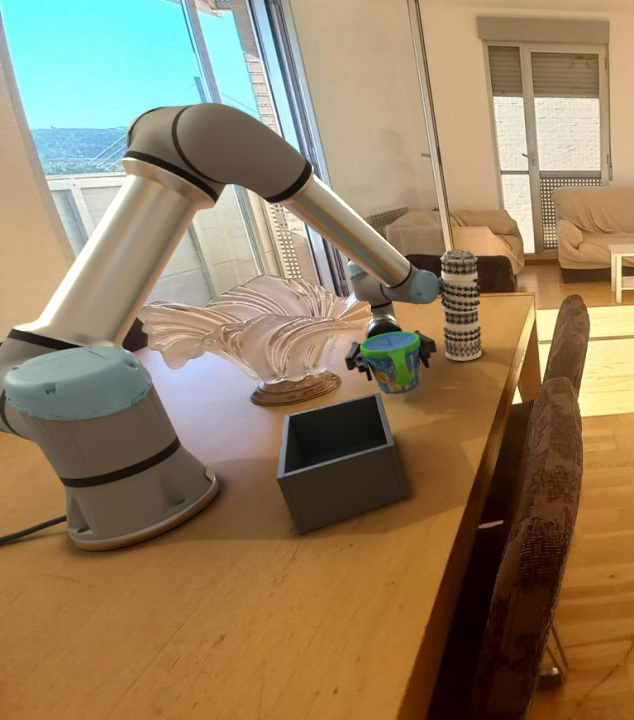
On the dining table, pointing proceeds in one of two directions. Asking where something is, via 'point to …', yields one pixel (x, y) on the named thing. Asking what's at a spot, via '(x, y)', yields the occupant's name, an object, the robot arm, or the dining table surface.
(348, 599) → the dining table surface
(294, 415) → the waste bin
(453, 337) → the decorative candle
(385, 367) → the snack cup
